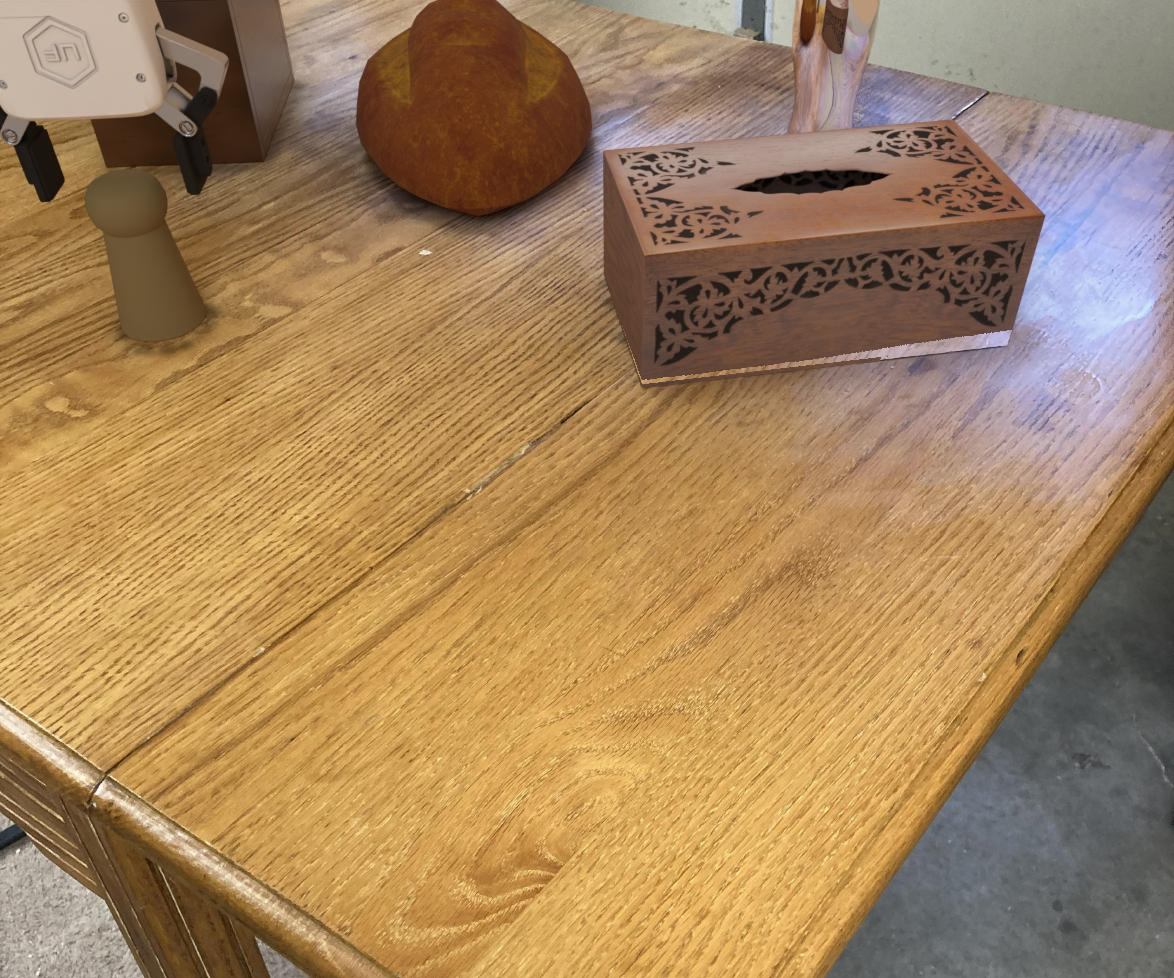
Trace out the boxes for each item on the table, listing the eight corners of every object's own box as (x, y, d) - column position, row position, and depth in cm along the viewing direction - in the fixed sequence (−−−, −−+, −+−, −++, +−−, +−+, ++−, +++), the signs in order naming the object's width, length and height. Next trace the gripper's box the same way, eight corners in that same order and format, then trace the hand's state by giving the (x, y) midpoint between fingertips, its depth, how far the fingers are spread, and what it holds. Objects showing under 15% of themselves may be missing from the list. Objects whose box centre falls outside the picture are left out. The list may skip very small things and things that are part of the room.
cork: (211, 330, 80) (170, 189, 73) (124, 349, 79) (73, 207, 71) (200, 288, 84) (161, 151, 77) (117, 305, 83) (68, 167, 75)
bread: (338, 238, 90) (310, 87, 81) (378, 75, 114) (360, -54, 105) (600, 229, 90) (599, 77, 82) (585, 69, 114) (582, -61, 106)
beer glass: (766, 132, 103) (783, -41, 92) (833, 120, 104) (857, -51, 94) (803, 164, 98) (826, -15, 88) (873, 150, 99) (902, -26, 89)
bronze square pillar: (105, 167, 100) (45, -15, 89) (156, 84, 113) (109, -83, 103) (263, 162, 100) (222, -21, 89) (294, 79, 113) (262, -88, 103)
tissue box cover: (926, 241, 88) (953, 119, 81) (1007, 346, 77) (1045, 215, 70) (603, 274, 85) (603, 150, 78) (641, 387, 74) (644, 255, 67)
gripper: (-151, -64, 60) (-25, 223, 72) (171, -78, 60) (246, 210, 72) (-94, -102, 66) (15, 170, 77) (201, -115, 66) (266, 158, 77)
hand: (126, 189), depth 74 cm, fingers open, 9 cm apart
